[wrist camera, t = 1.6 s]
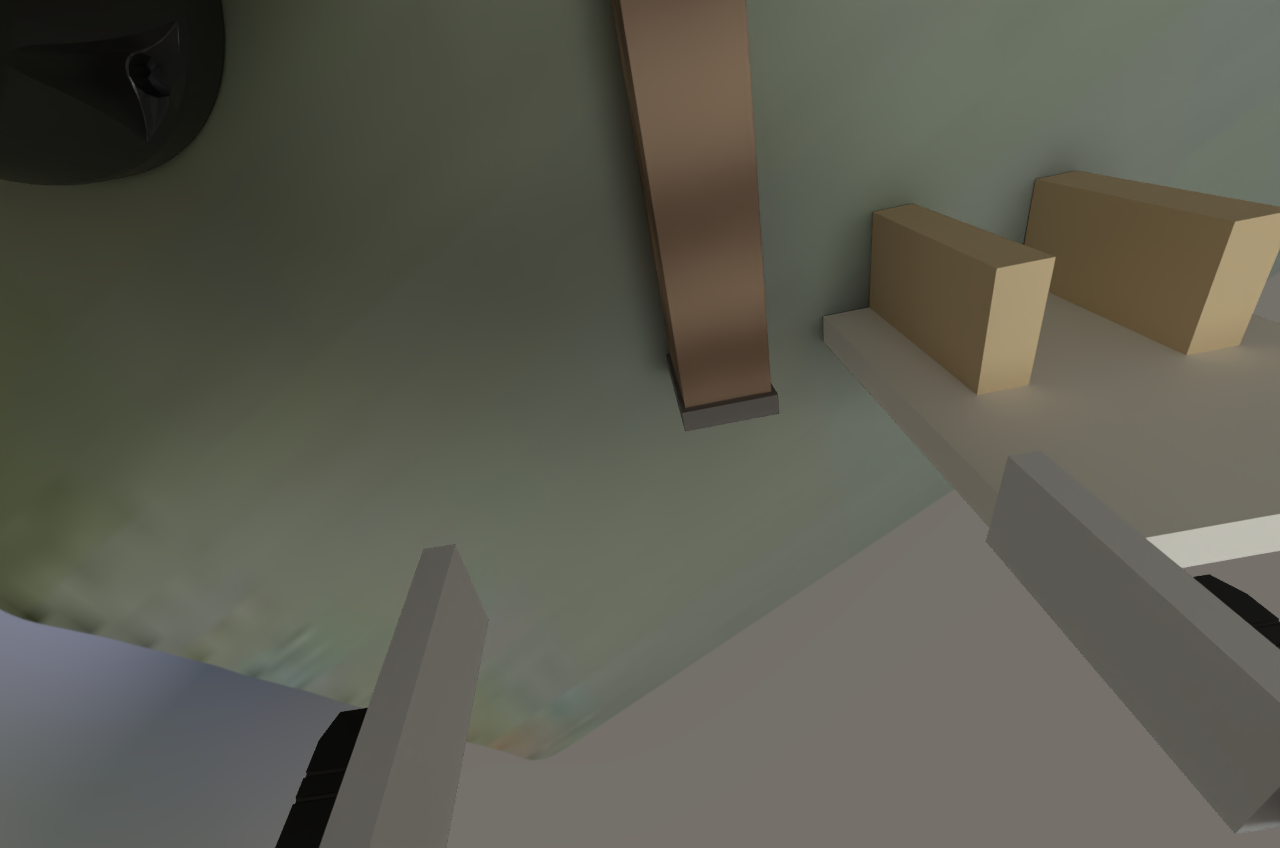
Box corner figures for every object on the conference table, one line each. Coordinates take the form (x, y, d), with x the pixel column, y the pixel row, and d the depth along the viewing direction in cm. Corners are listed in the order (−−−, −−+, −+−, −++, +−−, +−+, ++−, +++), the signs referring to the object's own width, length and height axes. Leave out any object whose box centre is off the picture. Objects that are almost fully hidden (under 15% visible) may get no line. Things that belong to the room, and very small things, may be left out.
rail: (600, -33, 22) (602, -72, 17) (710, -57, 22) (749, -104, 17) (669, 371, 31) (685, 431, 26) (746, 356, 31) (778, 413, 26)
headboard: (822, 221, 28) (1105, 391, 12) (1128, 160, 27) (1817, 258, 12) (823, 341, 31) (1046, 591, 16) (1096, 288, 31) (1600, 494, 15)
